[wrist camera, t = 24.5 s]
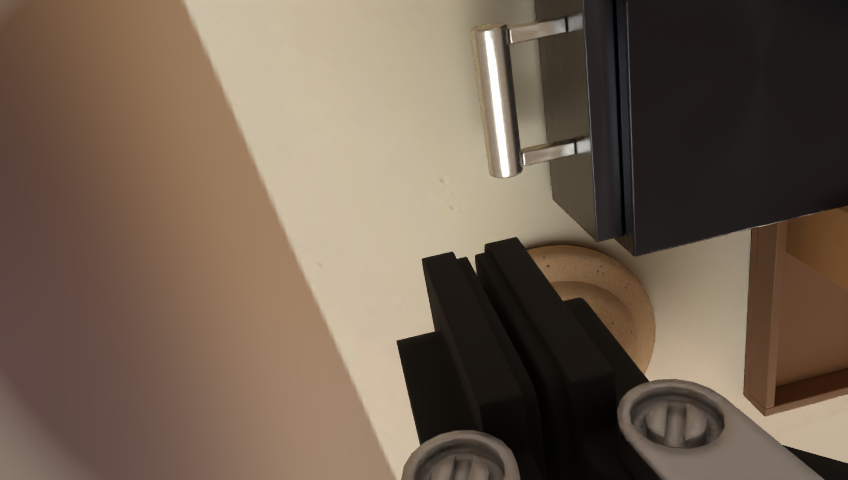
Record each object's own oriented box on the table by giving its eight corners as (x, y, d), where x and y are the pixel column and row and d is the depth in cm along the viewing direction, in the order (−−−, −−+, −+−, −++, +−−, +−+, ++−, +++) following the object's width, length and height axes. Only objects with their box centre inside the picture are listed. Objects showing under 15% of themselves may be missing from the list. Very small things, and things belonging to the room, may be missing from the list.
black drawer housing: (569, 199, 33) (634, 257, 27) (546, -96, 28) (621, -111, 21) (762, 155, 34) (868, 201, 28) (778, -140, 29) (916, -166, 22)
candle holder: (620, 205, 34) (990, 495, 16) (664, 381, 39) (980, 749, 21) (401, 297, 34) (521, 694, 16) (475, 461, 39) (629, 900, 21)
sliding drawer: (480, 216, 32) (511, 262, 27) (440, -60, 27) (471, -63, 22) (731, 158, 33) (805, 193, 28) (741, -117, 28) (833, -132, 23)
